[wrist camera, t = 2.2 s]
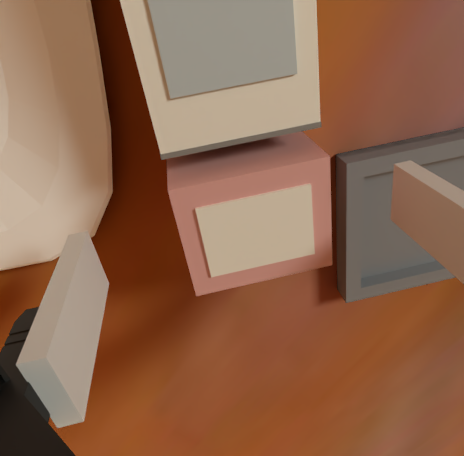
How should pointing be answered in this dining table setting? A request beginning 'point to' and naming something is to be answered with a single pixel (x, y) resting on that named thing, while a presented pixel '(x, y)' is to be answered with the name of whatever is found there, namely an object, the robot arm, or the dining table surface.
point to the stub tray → (387, 215)
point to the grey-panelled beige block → (225, 69)
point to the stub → (252, 211)
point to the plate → (50, 129)
